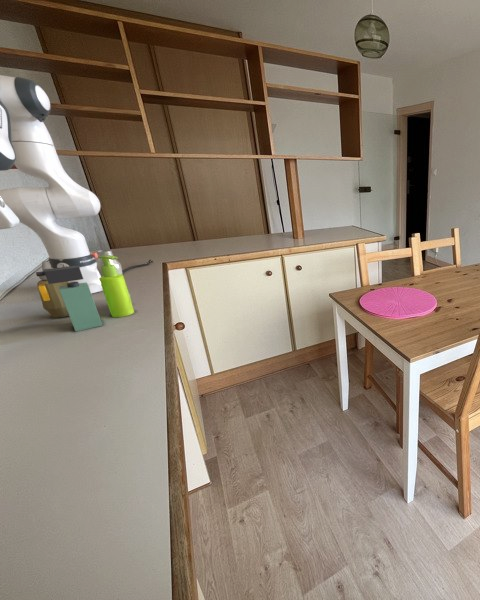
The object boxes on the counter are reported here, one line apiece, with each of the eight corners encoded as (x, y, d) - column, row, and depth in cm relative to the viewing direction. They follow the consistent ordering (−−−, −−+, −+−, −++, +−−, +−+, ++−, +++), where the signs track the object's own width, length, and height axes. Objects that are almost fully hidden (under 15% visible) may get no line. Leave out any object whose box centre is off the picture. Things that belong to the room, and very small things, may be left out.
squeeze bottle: (87, 311, 106) (69, 260, 100) (57, 321, 99) (34, 266, 92) (72, 308, 108) (53, 257, 102) (41, 317, 101) (18, 263, 95)
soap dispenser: (124, 318, 102) (104, 258, 95) (106, 316, 103) (86, 257, 96) (141, 311, 107) (124, 254, 100) (124, 309, 109) (106, 253, 101)
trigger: (43, 301, 87) (38, 287, 86) (43, 298, 89) (38, 284, 88) (50, 300, 88) (44, 286, 86) (49, 297, 90) (44, 283, 88)
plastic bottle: (114, 311, 107) (95, 254, 100) (106, 307, 110) (87, 251, 103) (137, 305, 112) (120, 250, 105) (129, 301, 115) (112, 248, 108)
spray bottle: (60, 335, 91) (35, 273, 84) (59, 329, 94) (35, 269, 87) (102, 325, 97) (82, 267, 90) (100, 320, 100) (80, 264, 93)
